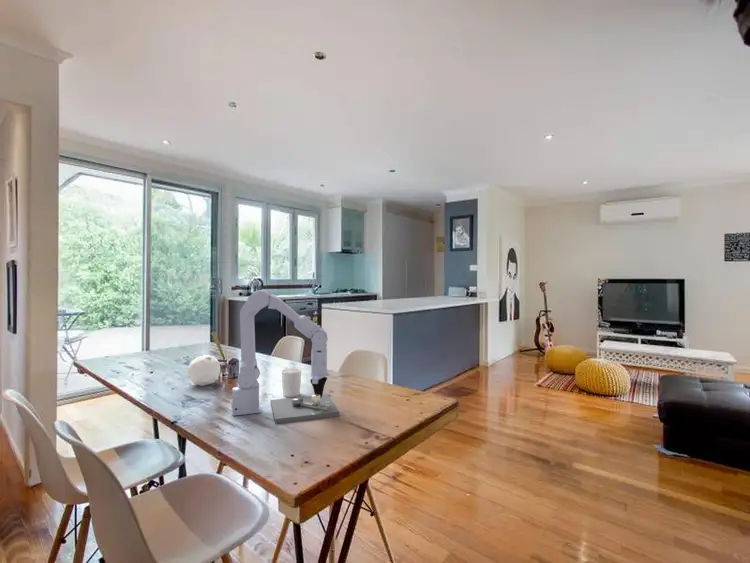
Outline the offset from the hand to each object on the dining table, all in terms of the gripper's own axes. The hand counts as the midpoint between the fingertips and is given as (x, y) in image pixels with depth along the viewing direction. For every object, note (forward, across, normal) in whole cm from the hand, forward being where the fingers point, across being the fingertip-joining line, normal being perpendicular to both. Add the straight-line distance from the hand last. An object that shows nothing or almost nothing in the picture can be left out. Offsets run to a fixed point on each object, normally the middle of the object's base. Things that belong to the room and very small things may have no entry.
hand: (318, 397), depth 139 cm
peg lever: (+2, -4, +3) cm, 5 cm away
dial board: (+4, -2, +5) cm, 7 cm away
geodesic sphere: (+4, +25, +57) cm, 62 cm away
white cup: (+4, +14, +14) cm, 21 cm away
